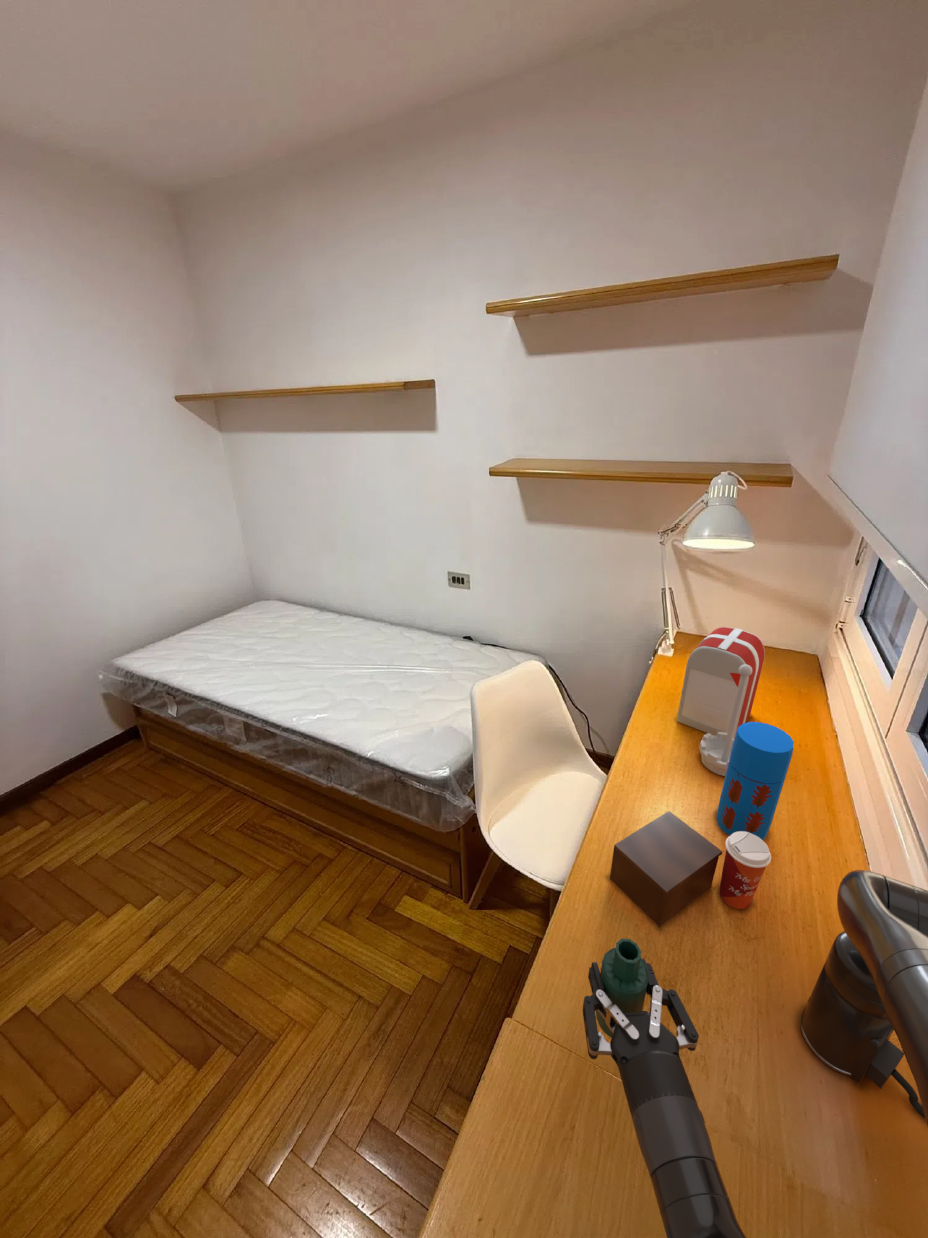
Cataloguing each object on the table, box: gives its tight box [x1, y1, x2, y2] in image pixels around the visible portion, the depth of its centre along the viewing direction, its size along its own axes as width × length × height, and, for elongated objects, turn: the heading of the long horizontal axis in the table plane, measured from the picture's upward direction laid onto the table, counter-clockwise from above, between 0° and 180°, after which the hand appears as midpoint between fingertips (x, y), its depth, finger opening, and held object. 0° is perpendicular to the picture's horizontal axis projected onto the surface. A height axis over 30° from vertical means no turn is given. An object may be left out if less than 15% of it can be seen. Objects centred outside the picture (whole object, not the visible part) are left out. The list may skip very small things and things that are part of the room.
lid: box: [613, 810, 723, 895], centre depth 102 cm, size 16×13×1 cm
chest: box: [609, 847, 720, 928], centre depth 104 cm, size 16×13×9 cm
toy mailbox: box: [676, 626, 766, 739], centre depth 151 cm, size 16×18×27 cm
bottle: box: [595, 938, 649, 1039], centre depth 71 cm, size 6×6×15 cm
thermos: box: [715, 721, 795, 841], centre depth 114 cm, size 11×11×25 cm
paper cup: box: [718, 831, 772, 910], centre depth 100 cm, size 8×8×14 cm
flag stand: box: [698, 664, 752, 777], centre depth 132 cm, size 13×13×30 cm
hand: (617, 964), depth 73 cm, fingers closed on bottle, 6 cm apart
